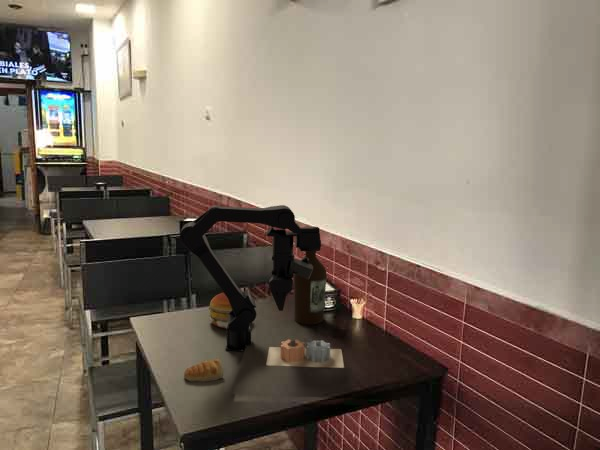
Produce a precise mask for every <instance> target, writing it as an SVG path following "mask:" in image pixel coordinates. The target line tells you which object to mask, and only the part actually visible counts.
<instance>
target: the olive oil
mask: <svg viewBox="0 0 600 450" xmlns="http://www.w3.org/2000/svg"><path fill="white" fill-rule="evenodd" d="M304 252H305V256H304V257H306V258H308V259H309V264H312V266H313V271H312V273H311V276H310V278H309V279H305V278H304V277H302V276H299V275H297V274H295V273H294V276H293V294H294V295H293V301H294V303H293V304H294V313H293V314H294V317H293V318H294V321H295V322H297V323H299V324H302V325H307V326H308V325H310V326H312V325H319V324H320V323H322V322H323V321H324V313H325V308H326V302H325V299H326V288H327V287H326V286H327V279H328V278H327V277H328V276H327V274H328V273H327V270H326V268H325V265H324V263H322V262H321V261H320V260H319V258H317V251H304Z"/></svg>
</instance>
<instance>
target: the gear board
mask: <svg viewBox="0 0 600 450" xmlns="http://www.w3.org/2000/svg"><path fill="white" fill-rule="evenodd" d="M290 340H291V346H293V347H295V340H296V339H290ZM280 353H281V346H277V347H275V346H269V347H268V354H267V358H266V366H271V367H272V366H273V367H303V368H305V367H307V368H331V369H332V368H336V369H337V368H341V369H344V368H345V366H344V365H345V364H344V358H343V351H342V349H341V348H330V360H326V361H324V363H321V362H315V363H314V362H312V361H311V360H307V359H306V347H305V351H304V359H301V360H298V362H295V361H289V362H287V361H286V360H285V359H281V358H280Z"/></svg>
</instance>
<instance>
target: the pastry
mask: <svg viewBox="0 0 600 450" xmlns="http://www.w3.org/2000/svg"><path fill="white" fill-rule="evenodd" d="M223 377H224V370H223V366H222V362H221V360H220V359H218V358H215V359H214V360H203V361H201V362H199V363H197V364H194V365H191V366H190V367H189V368H186V369H185V371H184V374H183V378H184V379H185V380H186V381H189V382H200V383H201V382H204V383H205V382H209V381H210V382H211V381H216V380H221V379H223Z"/></svg>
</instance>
